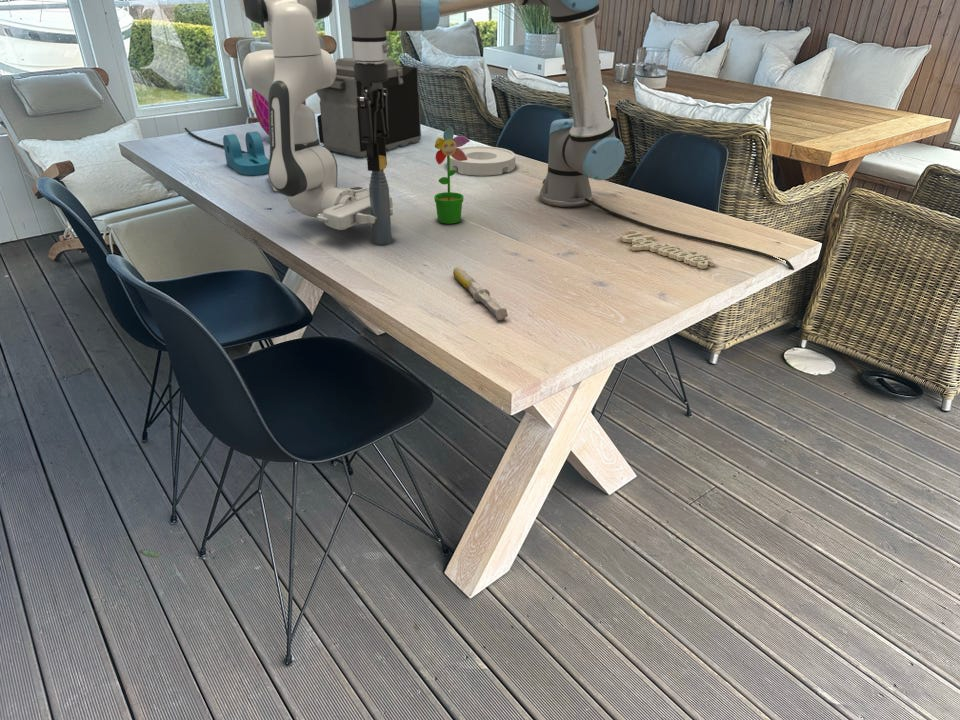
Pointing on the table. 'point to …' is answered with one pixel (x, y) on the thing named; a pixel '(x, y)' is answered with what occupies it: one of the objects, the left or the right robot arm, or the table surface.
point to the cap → (382, 162)
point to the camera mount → (246, 154)
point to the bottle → (380, 208)
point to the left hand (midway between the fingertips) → (383, 216)
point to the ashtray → (484, 161)
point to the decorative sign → (666, 249)
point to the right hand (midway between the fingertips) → (377, 167)
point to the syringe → (479, 293)
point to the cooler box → (343, 113)
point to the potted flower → (449, 201)
